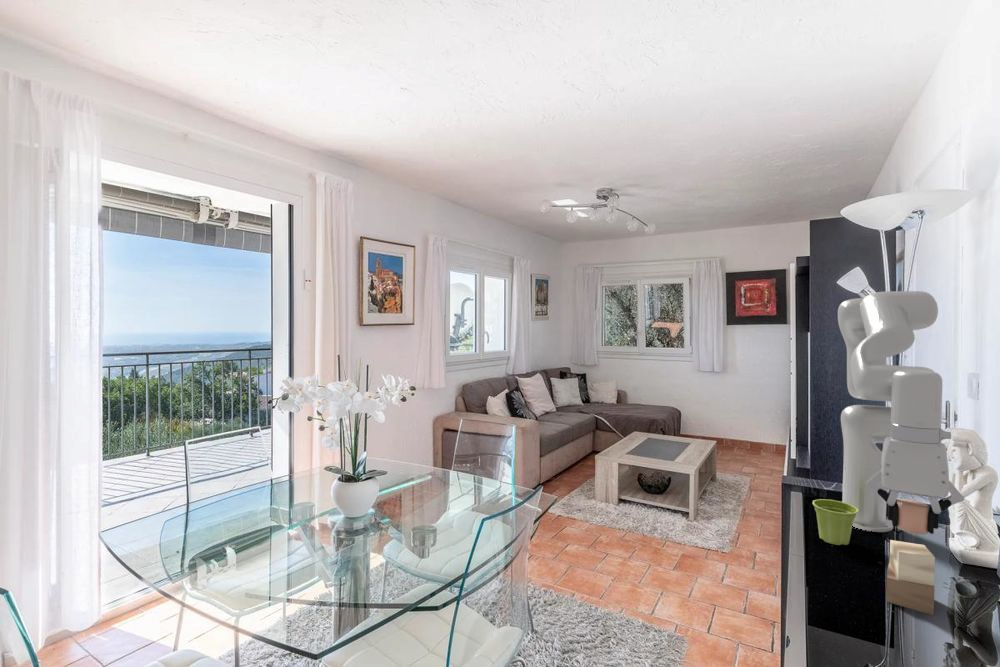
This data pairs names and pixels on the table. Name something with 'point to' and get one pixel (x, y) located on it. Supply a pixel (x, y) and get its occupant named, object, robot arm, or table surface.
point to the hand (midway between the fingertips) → (912, 526)
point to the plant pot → (834, 520)
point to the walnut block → (910, 594)
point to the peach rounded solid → (913, 516)
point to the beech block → (912, 562)
